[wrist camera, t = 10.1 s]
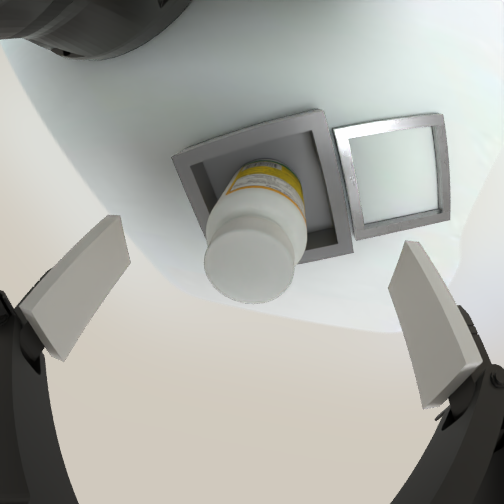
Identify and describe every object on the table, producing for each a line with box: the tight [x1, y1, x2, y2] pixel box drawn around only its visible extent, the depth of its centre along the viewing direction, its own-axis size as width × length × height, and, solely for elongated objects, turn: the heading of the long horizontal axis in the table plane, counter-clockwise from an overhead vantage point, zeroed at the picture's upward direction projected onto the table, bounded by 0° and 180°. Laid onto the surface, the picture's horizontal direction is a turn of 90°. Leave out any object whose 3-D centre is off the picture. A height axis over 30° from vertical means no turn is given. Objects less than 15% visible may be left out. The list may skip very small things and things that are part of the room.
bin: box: [171, 109, 354, 264], centre depth 19 cm, size 10×10×3 cm
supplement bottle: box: [204, 159, 307, 304], centre depth 16 cm, size 5×5×10 cm
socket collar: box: [333, 113, 450, 241], centre depth 18 cm, size 9×9×1 cm
